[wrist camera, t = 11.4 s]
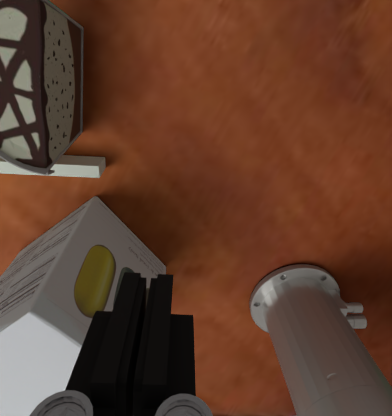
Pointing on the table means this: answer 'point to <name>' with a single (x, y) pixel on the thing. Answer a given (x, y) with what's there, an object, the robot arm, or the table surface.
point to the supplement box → (61, 300)
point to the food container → (39, 83)
